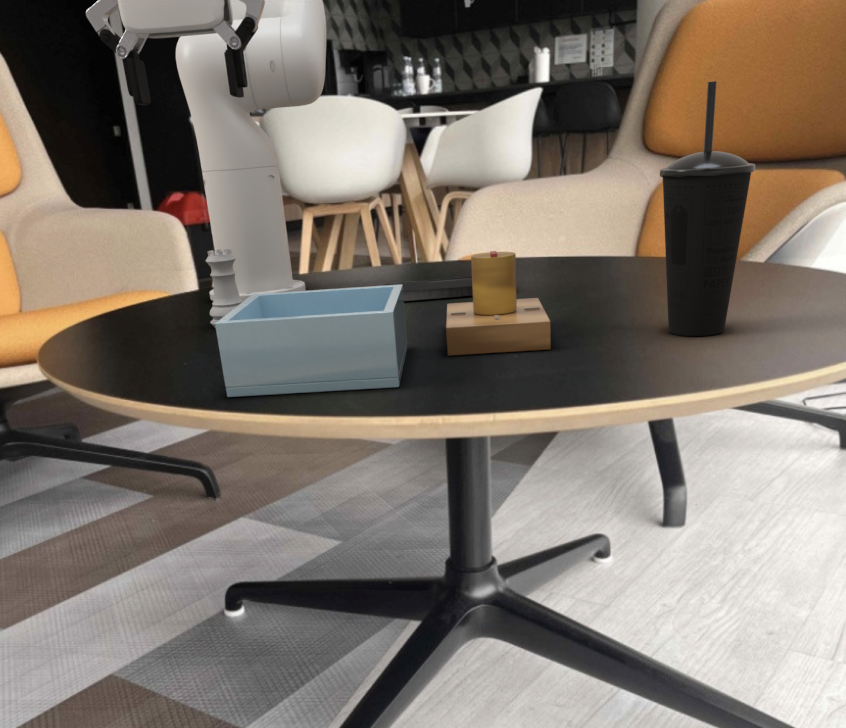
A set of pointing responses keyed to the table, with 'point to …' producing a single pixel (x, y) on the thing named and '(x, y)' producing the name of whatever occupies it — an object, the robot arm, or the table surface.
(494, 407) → the table surface
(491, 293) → the red-marked tan cylinder
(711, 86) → the drinking cup
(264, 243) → the robot arm
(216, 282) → the rook chess piece
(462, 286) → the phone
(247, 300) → the basin
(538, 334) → the panel
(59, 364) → the table surface
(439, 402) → the table surface
